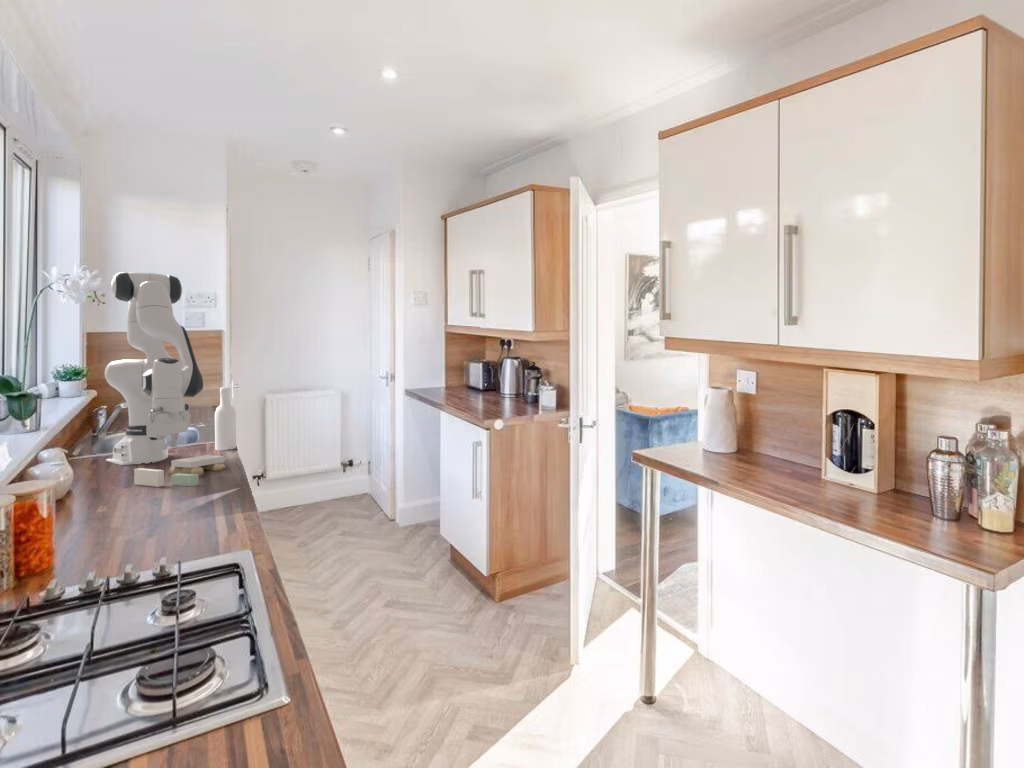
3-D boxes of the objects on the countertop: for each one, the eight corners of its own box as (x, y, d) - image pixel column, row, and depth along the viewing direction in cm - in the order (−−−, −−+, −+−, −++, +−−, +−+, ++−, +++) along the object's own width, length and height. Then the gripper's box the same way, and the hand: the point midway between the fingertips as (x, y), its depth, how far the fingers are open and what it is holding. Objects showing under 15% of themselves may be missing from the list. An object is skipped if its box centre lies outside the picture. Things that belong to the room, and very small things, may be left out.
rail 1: (168, 477, 202) (168, 466, 202) (178, 475, 205) (178, 464, 205) (193, 480, 197) (193, 468, 197) (204, 478, 201) (203, 466, 201)
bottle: (215, 462, 235) (214, 387, 234) (214, 459, 242) (213, 387, 241) (237, 461, 238) (236, 387, 237) (236, 458, 245) (235, 387, 244)
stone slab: (171, 466, 201) (171, 460, 201) (206, 460, 214) (206, 454, 214) (190, 467, 198) (190, 461, 198) (224, 461, 211) (224, 456, 211)
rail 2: (191, 473, 210) (191, 462, 210) (201, 471, 214) (200, 460, 214) (216, 475, 206) (216, 464, 205) (225, 473, 209) (225, 462, 209)
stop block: (134, 484, 190) (134, 469, 190) (140, 483, 192) (140, 468, 192) (158, 486, 186) (158, 471, 186) (164, 485, 188) (163, 470, 188)
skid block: (171, 485, 189) (170, 474, 189) (178, 483, 192) (178, 473, 192) (191, 486, 187) (191, 476, 187) (198, 485, 190) (198, 474, 190)
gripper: (161, 408, 184) (161, 452, 185) (192, 405, 205) (192, 444, 205) (140, 408, 184) (140, 452, 184) (173, 405, 204) (174, 444, 205)
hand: (168, 448), depth 195 cm, fingers open, 5 cm apart
